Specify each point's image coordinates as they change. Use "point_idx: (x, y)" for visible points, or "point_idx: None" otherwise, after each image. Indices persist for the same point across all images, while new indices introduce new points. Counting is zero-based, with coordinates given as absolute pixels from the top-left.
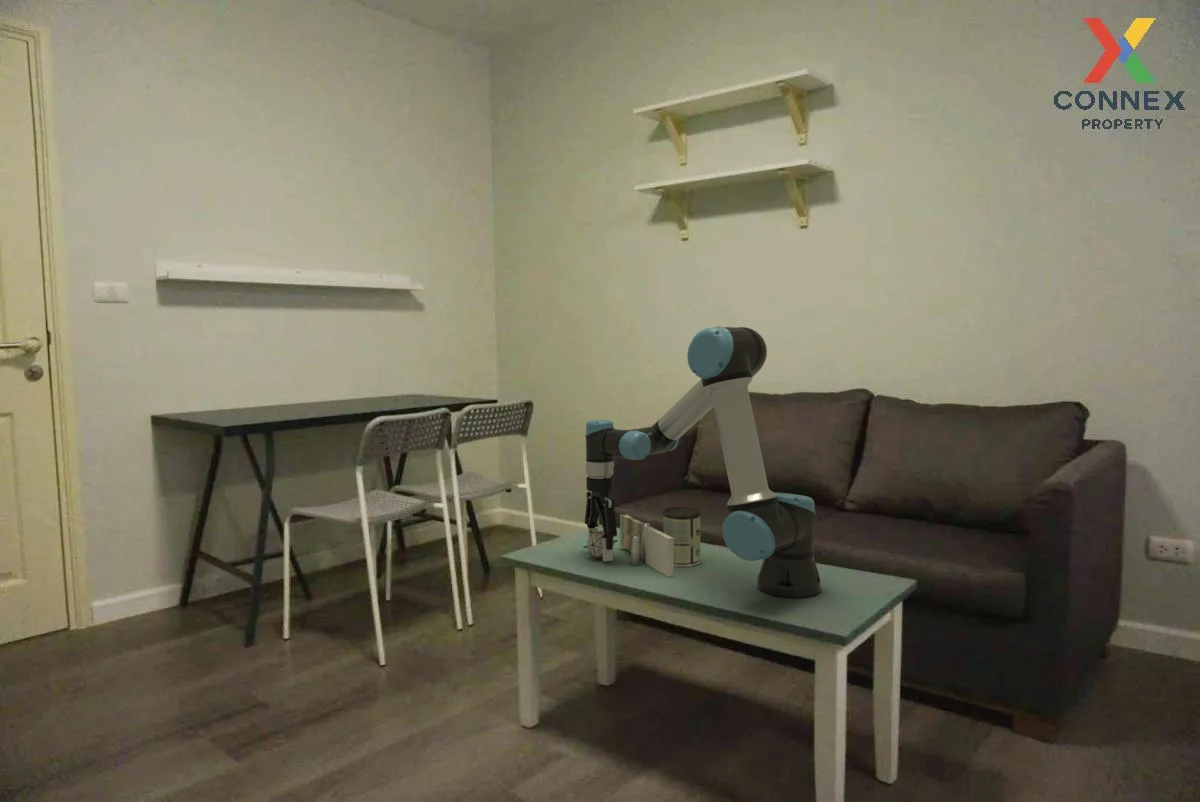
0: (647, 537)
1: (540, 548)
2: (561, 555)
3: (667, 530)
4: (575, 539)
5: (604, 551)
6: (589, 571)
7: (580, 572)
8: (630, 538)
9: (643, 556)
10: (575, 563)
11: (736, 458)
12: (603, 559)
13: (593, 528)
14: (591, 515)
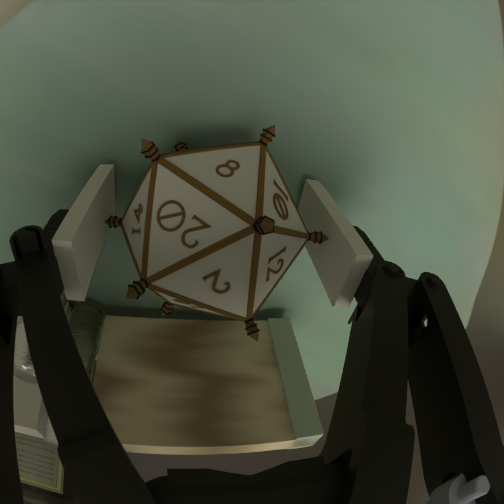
0: (26, 388)
1: (492, 65)
2: (373, 52)
3: (22, 438)
4: (473, 232)
5: (84, 191)
6: (34, 51)
7: (42, 6)
8: (199, 363)
9: (71, 318)
10: (196, 30)
11: None
12: (103, 167)
13: (347, 283)
14: (368, 355)
